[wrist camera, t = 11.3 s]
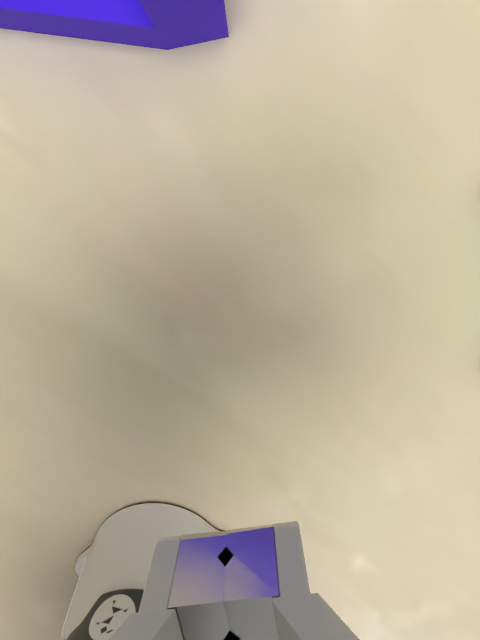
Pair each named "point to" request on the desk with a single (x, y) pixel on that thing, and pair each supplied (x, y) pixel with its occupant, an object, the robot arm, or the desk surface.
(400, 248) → the desk surface
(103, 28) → the bracket
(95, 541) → the robot arm
